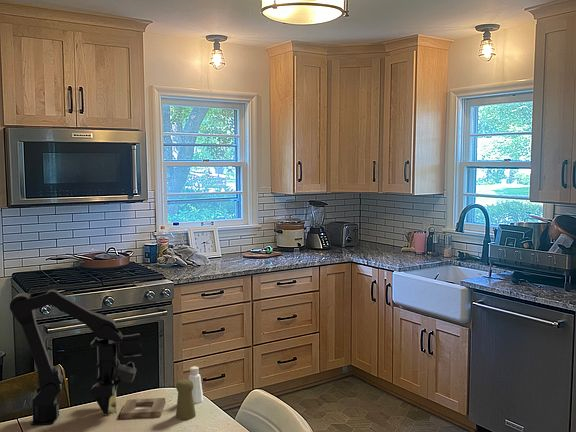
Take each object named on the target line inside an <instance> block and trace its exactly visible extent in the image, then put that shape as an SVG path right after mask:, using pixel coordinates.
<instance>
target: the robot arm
mask: <svg viewBox="0 0 576 432" xmlns="http://www.w3.org/2000/svg"><path fill="white" fill-rule="evenodd" d="M48 306H52V307H54V308H56V309H58V310H60V311H61V312H63V313H65V314H66V315H68V316H70V317H72V318H74V319H75V320H78V321H79V322H81V323H82V324H84V325H86V326H87V328H89V329H90V331H91V332H93V333H94V334H95V335H96V337H94V338H93V340H92V341H91V342H90V347H91V348H94V347H96V350H97V351H96V352H97V363H96V364H95V366H96V367H95V368H96V369H97V374H98V375H97V377H96V383H95V384H94V385H92V388H91V389H90V396H91V397H92V398H94V400H95V401H96V403H97V405H98V406H99V408H100V409H101V412H102V411H103V413H104V414H108V409H109V401H110V397H111V396H113V394H114V390H116V391H117V390H118V389H117V388H118V385H119V384H120V383H121V382H122V381H124V382H127V383H129V384H131V383H132V384H133V381H134V379H135V376H136V373H137V371H138V370H137V367H135V362H132V361H128V363H127V364H121V363H120V360H119V358H118V355H121V357H123V358H128V357H137V356H138V357H140V356H142V342H141V334H140V333H133V334H126V335H123V333H122V331H120V330H119V329H118V327H117V324H116V321H115V319H113V318H112V317H111V316H107V315H105V314H103V313H98V312H94V311H91V310H90V309H88V308H86V307H85V306H83V305H81V304H80V303H77V302H76V301H74V300H72V299H71V298H70V297H68V296H66V295H64V294H62V293H60V292H59V291H58V289H54V288H53V289H49V290H45V291H36V292H34V293H27V292H18V293H17V294H16V295H15V296H14V297H13V298H12V299H11V302H10V304H9V310H10V312H11V314H12V316H13V317H14V319H15V320H16V321H17V323H18V324H19V325H20V326H21V328H22V331H23V334H24V336H25V339H26V342H27V345H28V347H29V350H30V353H31V355H32V359H33V361H34V364H35V367H36V369H37V382H38V387H37V388H36V389H35V391H34V394H33V398H32V401H31V402H32V404H31V407H32V409H31V410H32V420H31V422H30V425H31V426H36V425H37V426H39V425H40V426H41V425H53V424H55V422H56V421H57V419H58V418H59V416H60V403H59V402H58V398H57V396H58V395H59V393H60V392H61V389H62V384H63V380H64V375H63V374H62V372H61V367H60V365H57V366H54V364H52V361H51V359H50V356H49V353H48V351H47V348H46V346H45V342H44V338H43V337H42V334H41V331H40V328H39V326H38V323H37V319H36V318H37V317H36V316H37V315H36V310H38V309H40V308H44V307H48ZM117 346H118V348H117ZM117 350H118V351H117Z"/></svg>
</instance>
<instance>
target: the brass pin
mask: <svg viewBox="0 0 576 432" xmlns="http://www.w3.org/2000/svg"><path fill="white" fill-rule="evenodd" d="M117 404H118V403H117V390H114V394H113V396H111V397H110V401H109V409H108V414H104V413H103V411H102V410H101V414H102V415H103V414H104V416H110V415H109V414H112V415H114V414H113V413H115V412H116V413H117V412H118V410H117V409H118V408H117V406H118V405H117ZM116 413H115V414H116Z"/></svg>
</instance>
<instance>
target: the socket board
mask: <svg viewBox="0 0 576 432" xmlns="http://www.w3.org/2000/svg"><path fill="white" fill-rule="evenodd" d="M165 405H166V397H156V398H152V397H151V398H137V399H135V398H134V399H127V400H126V401H125V404H124V405H123V407H122V409H121V412H120V419H121V418H122V419H136V418H135V417H142V418H157V417H159V418H160V416H161V417H162V415H163V411H164V409H163V408H165Z"/></svg>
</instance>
